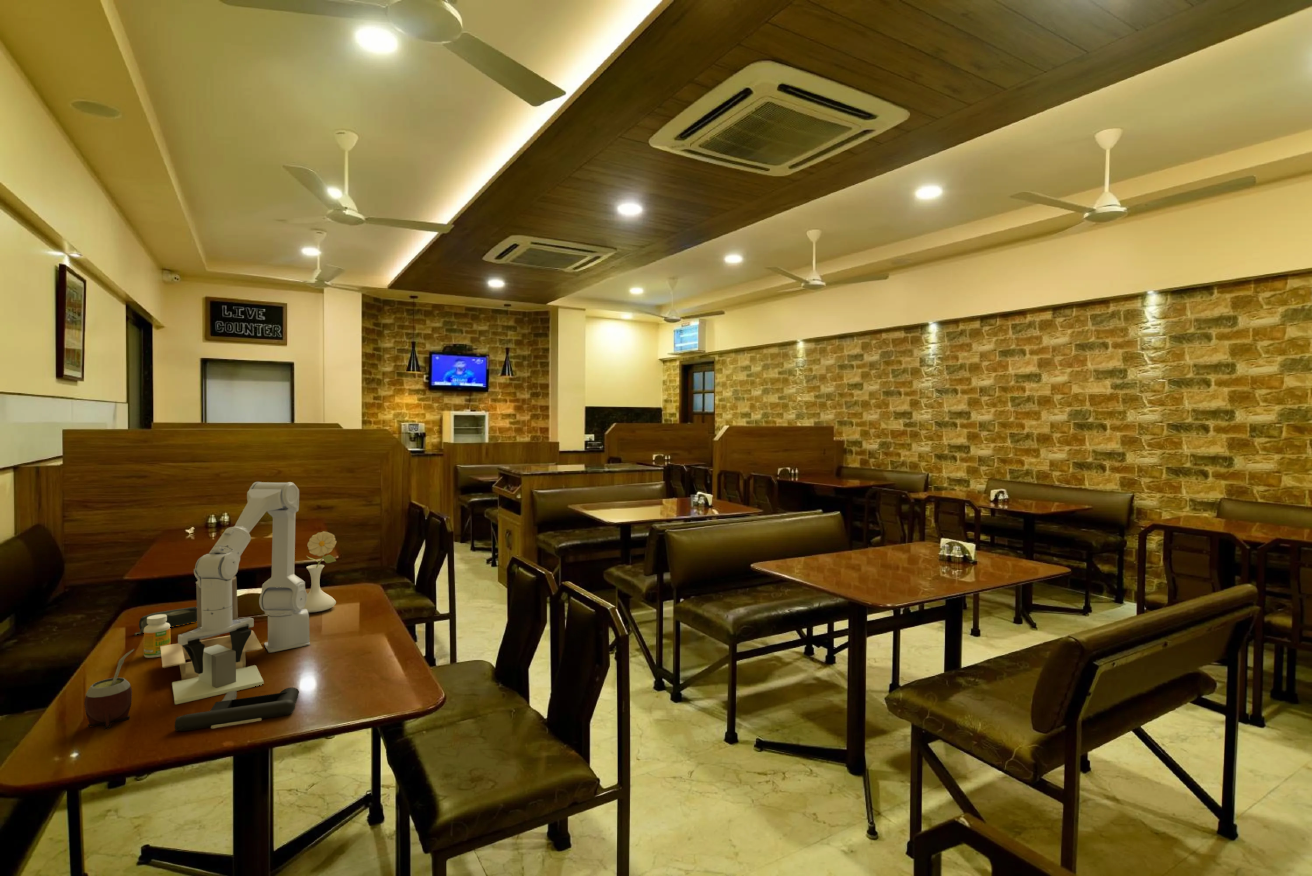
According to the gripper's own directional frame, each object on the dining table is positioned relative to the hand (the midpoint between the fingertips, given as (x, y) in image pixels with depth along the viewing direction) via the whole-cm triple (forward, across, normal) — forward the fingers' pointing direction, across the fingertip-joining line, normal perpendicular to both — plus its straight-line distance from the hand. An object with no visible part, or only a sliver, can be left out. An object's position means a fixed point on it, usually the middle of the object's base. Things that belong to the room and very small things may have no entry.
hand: (217, 666), depth 142 cm
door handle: (+5, +3, +18) cm, 18 cm away
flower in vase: (+4, -44, -35) cm, 57 cm away
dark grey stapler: (+5, -12, -55) cm, 57 cm away
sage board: (+4, 0, 0) cm, 4 cm away
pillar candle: (+4, -20, -45) cm, 49 cm away
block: (+3, 0, -1) cm, 3 cm away
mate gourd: (+4, +20, +1) cm, 20 cm away
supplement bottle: (+4, -2, -34) cm, 34 cm away
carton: (+4, -5, -15) cm, 16 cm away
